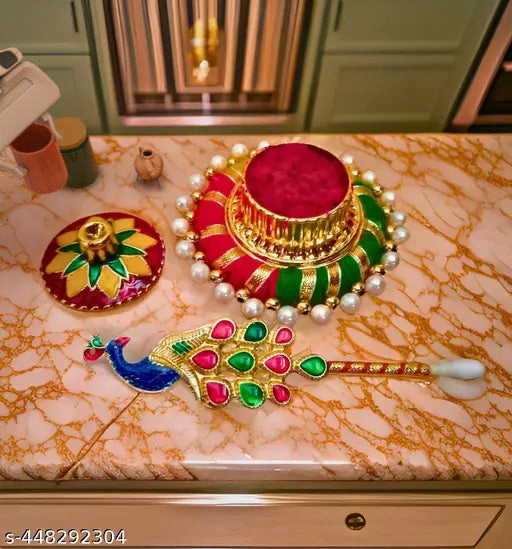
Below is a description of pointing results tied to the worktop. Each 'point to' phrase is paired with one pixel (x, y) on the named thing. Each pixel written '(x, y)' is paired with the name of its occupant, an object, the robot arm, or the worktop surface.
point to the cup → (40, 159)
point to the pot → (148, 165)
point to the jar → (76, 152)
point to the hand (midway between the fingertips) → (41, 158)
